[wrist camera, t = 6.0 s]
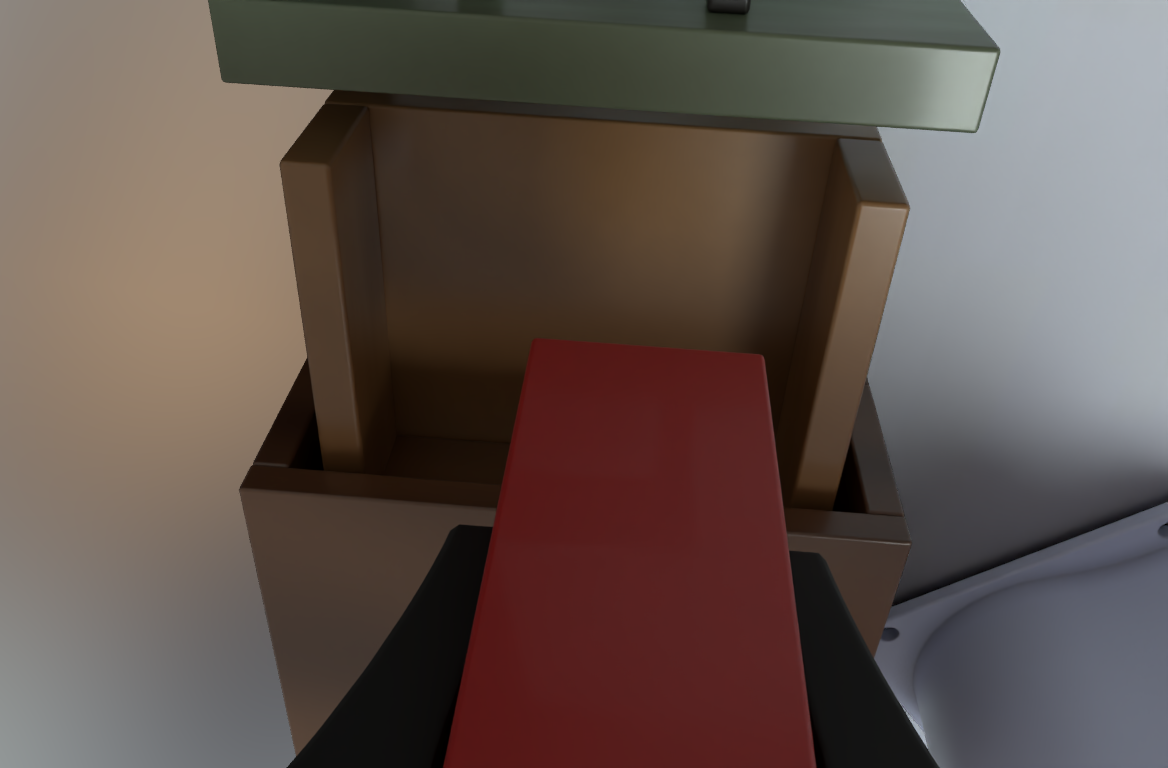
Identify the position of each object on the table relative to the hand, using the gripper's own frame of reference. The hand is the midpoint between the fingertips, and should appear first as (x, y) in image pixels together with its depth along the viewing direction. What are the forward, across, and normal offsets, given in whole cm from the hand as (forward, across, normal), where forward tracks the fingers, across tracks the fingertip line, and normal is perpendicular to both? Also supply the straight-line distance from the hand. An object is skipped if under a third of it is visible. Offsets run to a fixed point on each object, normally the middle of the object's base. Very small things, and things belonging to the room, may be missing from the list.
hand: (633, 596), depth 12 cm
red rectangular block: (+2, 0, 0) cm, 2 cm away
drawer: (+9, +1, -2) cm, 9 cm away
